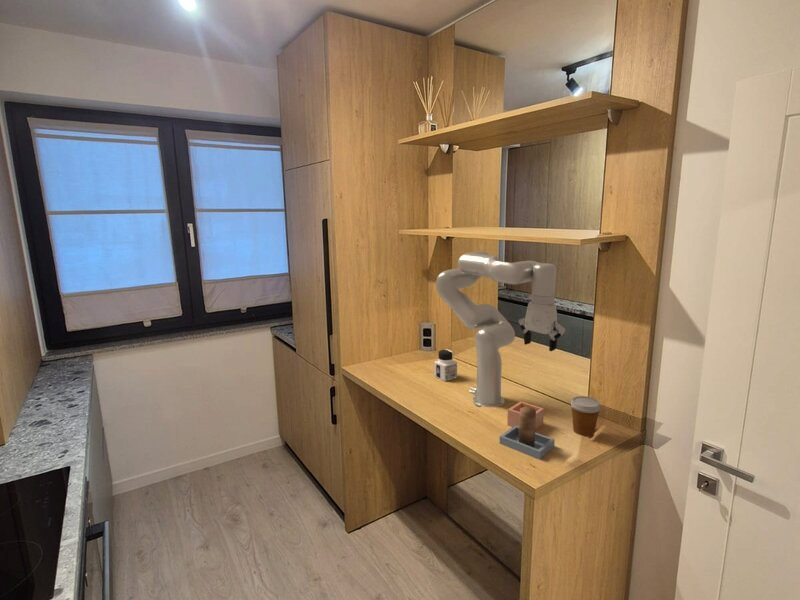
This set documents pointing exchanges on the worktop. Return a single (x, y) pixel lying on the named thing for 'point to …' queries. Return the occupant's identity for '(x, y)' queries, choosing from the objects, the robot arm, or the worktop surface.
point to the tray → (539, 450)
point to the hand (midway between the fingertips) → (539, 346)
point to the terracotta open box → (515, 413)
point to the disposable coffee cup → (585, 415)
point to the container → (445, 366)
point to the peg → (527, 426)
